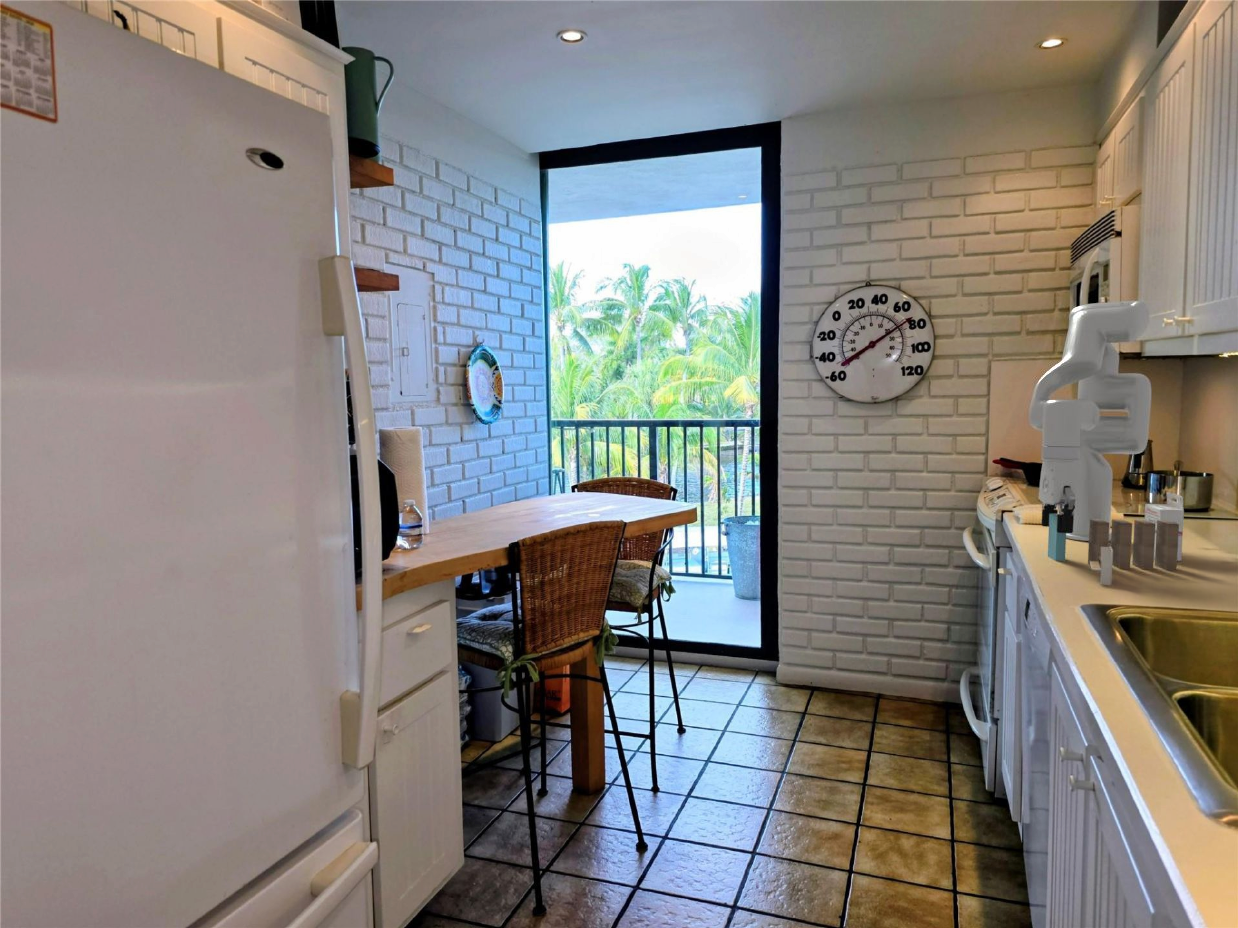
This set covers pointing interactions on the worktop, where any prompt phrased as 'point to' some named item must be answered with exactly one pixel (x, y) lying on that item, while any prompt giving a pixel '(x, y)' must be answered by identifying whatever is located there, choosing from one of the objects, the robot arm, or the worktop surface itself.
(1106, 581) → the architectural model
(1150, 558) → the domino
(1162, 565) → the domino
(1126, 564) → the domino
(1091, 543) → the domino
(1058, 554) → the domino
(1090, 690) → the worktop surface
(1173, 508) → the ink cartridge box
